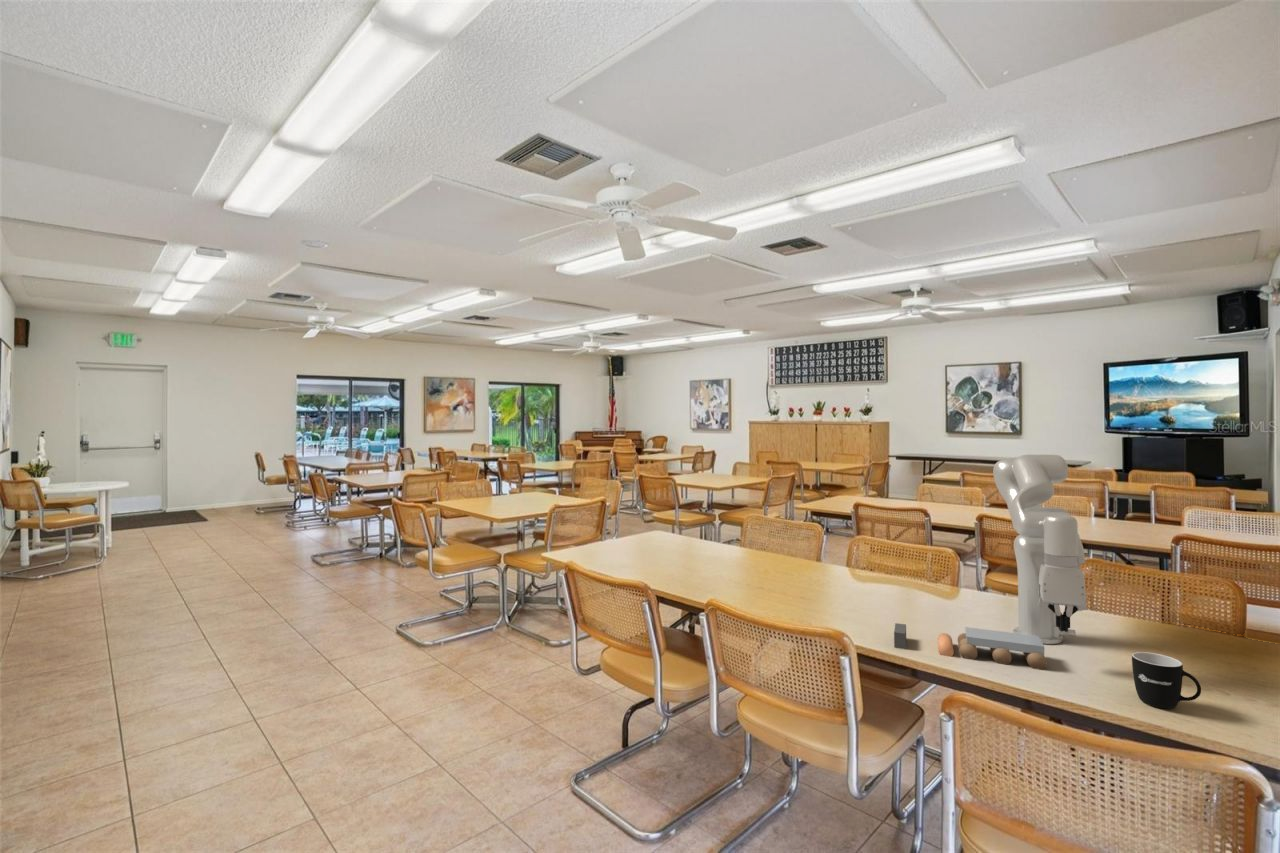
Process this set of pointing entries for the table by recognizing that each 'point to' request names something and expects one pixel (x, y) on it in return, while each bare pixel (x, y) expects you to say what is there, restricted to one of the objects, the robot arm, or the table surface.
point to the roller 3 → (1036, 660)
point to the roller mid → (1001, 655)
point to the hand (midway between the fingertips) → (1063, 630)
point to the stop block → (900, 636)
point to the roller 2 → (966, 648)
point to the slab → (1004, 640)
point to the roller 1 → (945, 645)
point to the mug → (1160, 679)
